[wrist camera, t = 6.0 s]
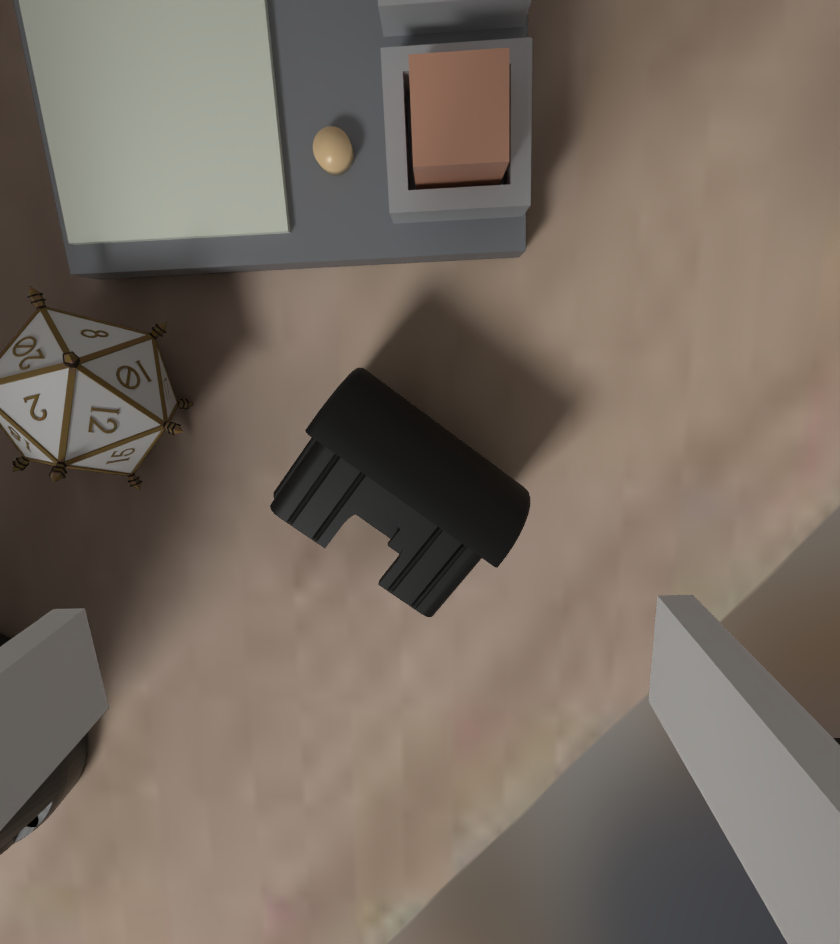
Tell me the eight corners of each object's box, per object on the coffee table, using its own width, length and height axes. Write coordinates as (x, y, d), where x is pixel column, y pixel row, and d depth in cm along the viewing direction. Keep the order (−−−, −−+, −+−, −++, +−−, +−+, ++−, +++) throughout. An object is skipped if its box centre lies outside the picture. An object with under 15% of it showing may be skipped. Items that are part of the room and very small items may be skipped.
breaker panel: (98, 279, 26) (37, 269, 22) (21, -111, 22) (-69, -208, 18) (518, 257, 25) (533, 242, 21) (520, -153, 21) (540, -266, 17)
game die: (141, 386, 31) (-88, 363, 23) (203, 287, 26) (-55, 216, 18) (184, 514, 28) (-58, 539, 20) (260, 429, 24) (-11, 418, 16)
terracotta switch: (416, 193, 22) (413, 167, 19) (412, 99, 21) (408, 54, 18) (498, 188, 22) (509, 161, 18) (497, 94, 21) (509, 47, 18)
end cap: (519, 472, 28) (545, 515, 21) (440, 568, 29) (441, 635, 23) (368, 360, 26) (346, 369, 20) (295, 466, 28) (251, 507, 21)
